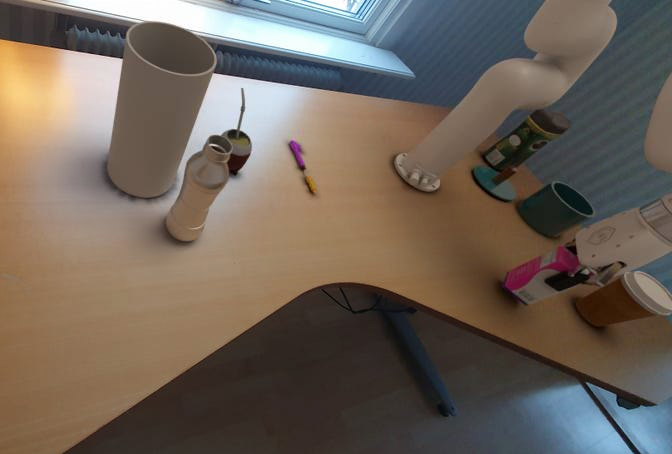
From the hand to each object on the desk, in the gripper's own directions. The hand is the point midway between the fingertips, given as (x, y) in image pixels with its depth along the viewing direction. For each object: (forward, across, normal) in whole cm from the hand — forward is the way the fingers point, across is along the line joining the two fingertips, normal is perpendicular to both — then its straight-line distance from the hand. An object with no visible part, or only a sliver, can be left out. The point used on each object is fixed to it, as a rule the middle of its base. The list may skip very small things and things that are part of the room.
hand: (550, 273), depth 72 cm
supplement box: (+7, 0, 0) cm, 7 cm away
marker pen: (+10, +4, -50) cm, 51 cm away
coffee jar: (+10, -53, -4) cm, 54 cm away
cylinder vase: (+10, +34, -74) cm, 82 cm away
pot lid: (+9, -40, -5) cm, 41 cm away
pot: (+9, -36, +9) cm, 39 cm away
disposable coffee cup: (+9, -10, +20) cm, 24 cm away
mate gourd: (+10, +19, -64) cm, 68 cm away
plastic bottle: (+10, +39, -61) cm, 73 cm away
